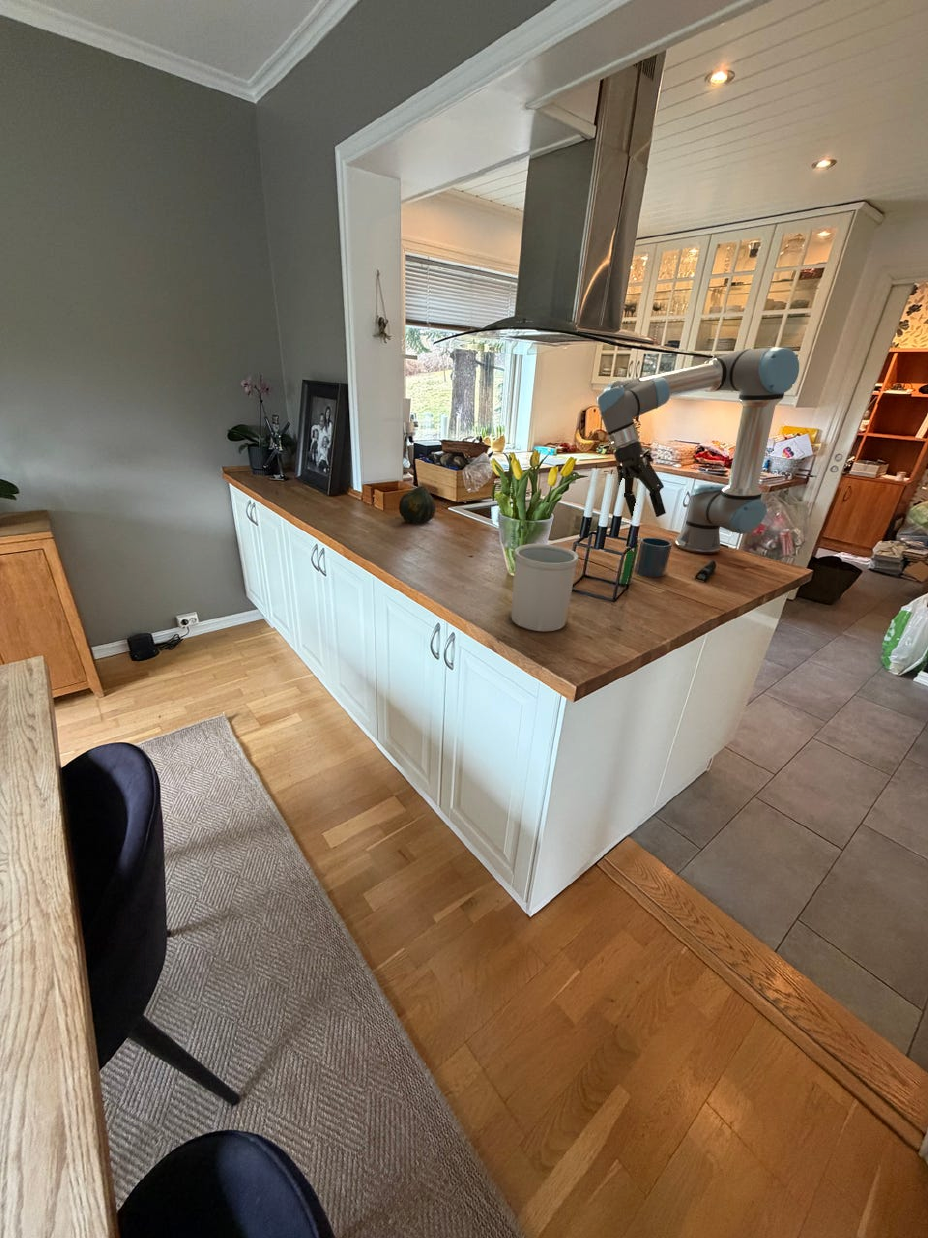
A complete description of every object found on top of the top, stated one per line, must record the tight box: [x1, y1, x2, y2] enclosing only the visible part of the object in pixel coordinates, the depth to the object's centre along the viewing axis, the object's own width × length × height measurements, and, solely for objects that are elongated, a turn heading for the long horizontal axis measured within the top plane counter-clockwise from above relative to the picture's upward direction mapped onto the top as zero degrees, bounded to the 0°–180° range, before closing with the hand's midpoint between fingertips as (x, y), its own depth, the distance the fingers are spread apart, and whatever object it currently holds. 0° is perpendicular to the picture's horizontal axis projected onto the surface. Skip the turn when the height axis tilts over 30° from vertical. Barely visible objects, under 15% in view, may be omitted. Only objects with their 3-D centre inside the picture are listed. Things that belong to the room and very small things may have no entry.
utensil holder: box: [510, 543, 579, 632], centre depth 117 cm, size 15×15×18 cm
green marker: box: [620, 536, 641, 585], centre depth 143 cm, size 3×3×14 cm
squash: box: [398, 485, 436, 524], centre depth 196 cm, size 14×15×15 cm
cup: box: [634, 537, 672, 578], centre depth 153 cm, size 9×9×10 cm
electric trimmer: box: [694, 560, 717, 583], centre depth 154 cm, size 4×16×3 cm, turn 142°
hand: (648, 515), depth 142 cm, fingers open, 13 cm apart
